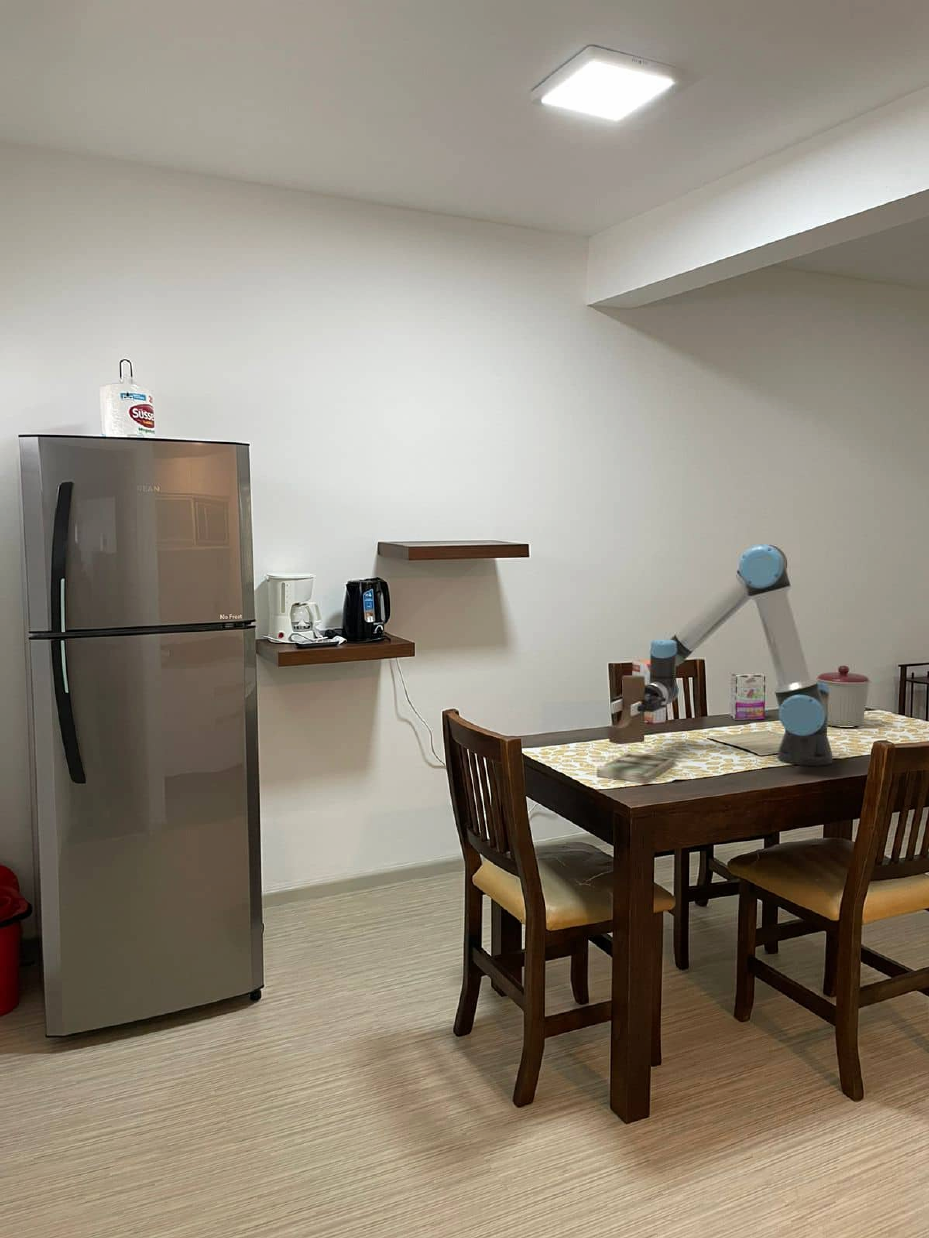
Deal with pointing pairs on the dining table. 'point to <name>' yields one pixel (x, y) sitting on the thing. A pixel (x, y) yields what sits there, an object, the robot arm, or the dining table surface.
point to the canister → (845, 696)
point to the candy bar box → (748, 696)
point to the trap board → (636, 767)
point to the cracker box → (644, 670)
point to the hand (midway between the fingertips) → (622, 709)
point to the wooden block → (629, 712)
